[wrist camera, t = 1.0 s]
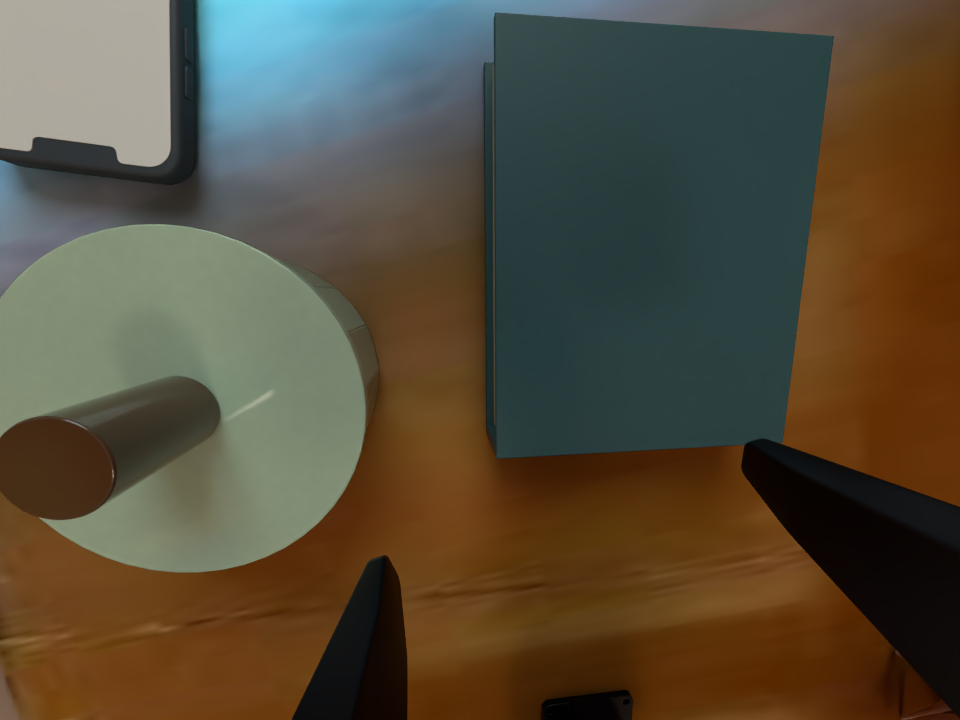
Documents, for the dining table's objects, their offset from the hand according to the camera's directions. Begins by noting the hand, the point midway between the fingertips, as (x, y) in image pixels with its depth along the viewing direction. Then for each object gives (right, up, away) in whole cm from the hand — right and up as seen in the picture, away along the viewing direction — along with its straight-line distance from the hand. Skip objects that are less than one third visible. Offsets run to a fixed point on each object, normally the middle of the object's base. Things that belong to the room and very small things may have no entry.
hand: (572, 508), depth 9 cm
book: (+6, +9, +14) cm, 17 cm away
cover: (-14, +2, +6) cm, 15 cm away
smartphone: (-20, +20, +9) cm, 30 cm away
